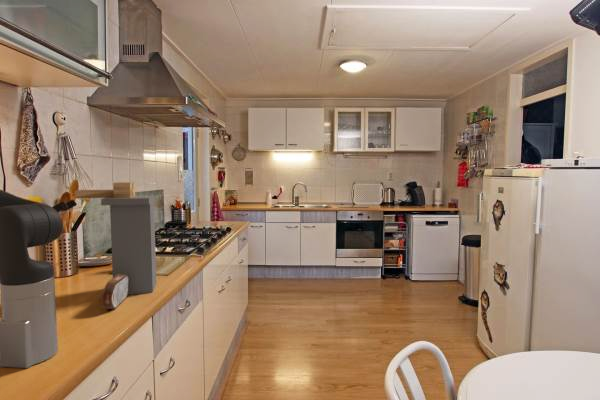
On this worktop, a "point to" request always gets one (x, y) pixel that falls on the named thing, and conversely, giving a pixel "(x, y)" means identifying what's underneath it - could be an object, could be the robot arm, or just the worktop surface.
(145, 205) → the stand
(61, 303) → the worktop surface
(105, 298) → the tin
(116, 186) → the brown wooden block
